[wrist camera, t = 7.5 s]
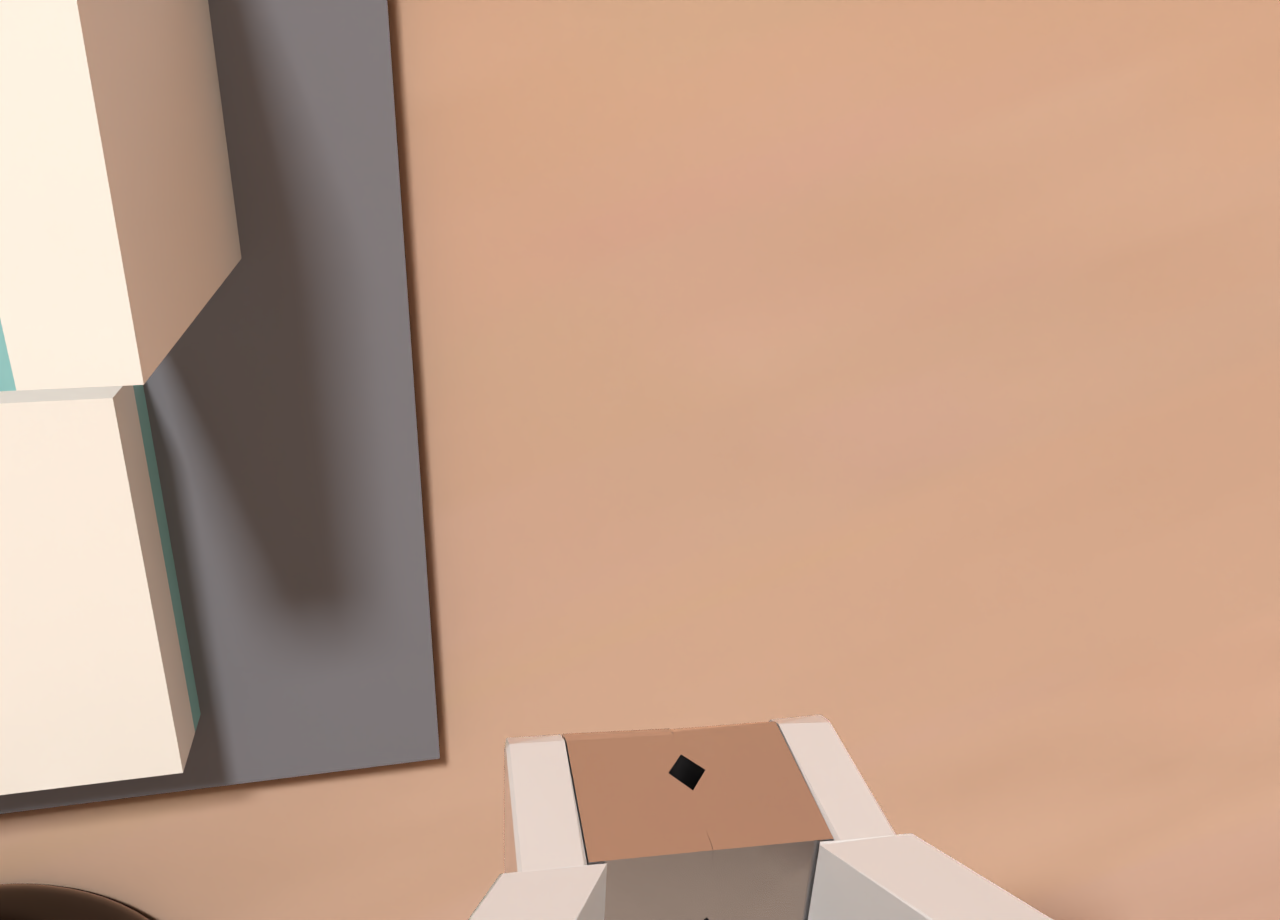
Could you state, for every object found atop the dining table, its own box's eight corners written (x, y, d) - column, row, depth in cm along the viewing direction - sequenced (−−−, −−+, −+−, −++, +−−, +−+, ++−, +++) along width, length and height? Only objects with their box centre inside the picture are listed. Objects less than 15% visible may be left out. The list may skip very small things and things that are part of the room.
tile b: (175, -249, 12) (-13, -503, 6) (241, 258, 14) (144, 385, 9) (36, -258, 12) (-283, -537, 6) (125, 260, 14) (-50, 394, 8)
